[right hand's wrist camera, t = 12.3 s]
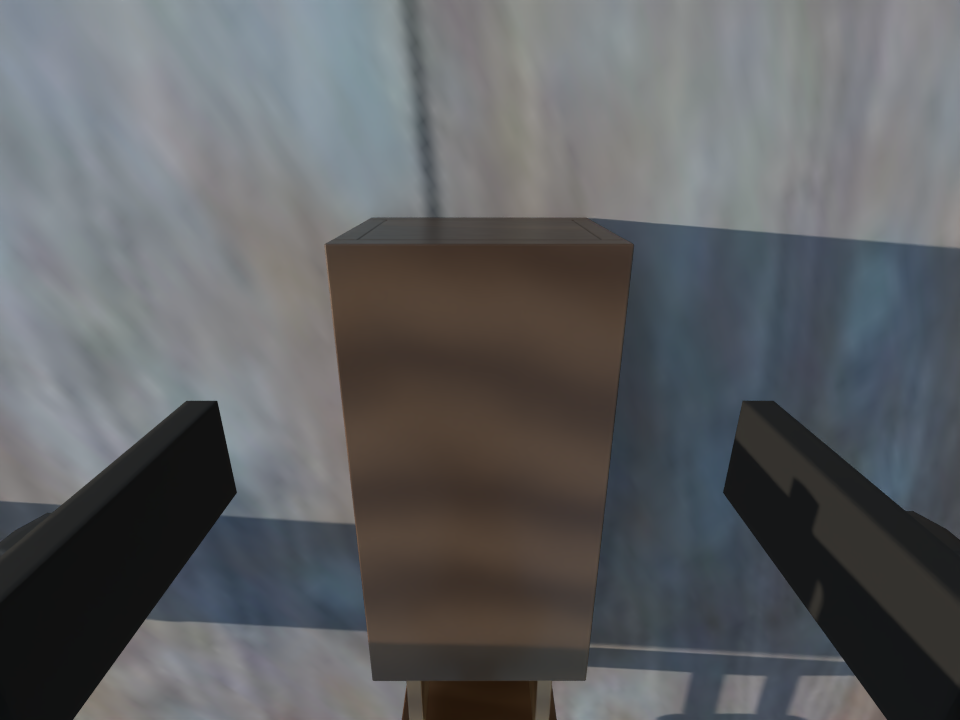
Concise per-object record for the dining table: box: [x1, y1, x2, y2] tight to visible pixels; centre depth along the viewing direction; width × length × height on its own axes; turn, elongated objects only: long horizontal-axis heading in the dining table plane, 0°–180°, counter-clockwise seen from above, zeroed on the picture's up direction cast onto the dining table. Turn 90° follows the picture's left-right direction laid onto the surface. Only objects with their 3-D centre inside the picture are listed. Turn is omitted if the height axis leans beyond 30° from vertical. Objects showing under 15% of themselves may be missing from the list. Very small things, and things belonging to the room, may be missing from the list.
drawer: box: [402, 681, 557, 720], centre depth 30 cm, size 26×10×6 cm, turn 0°
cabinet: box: [324, 218, 634, 681], centre depth 25 cm, size 22×11×8 cm, turn 0°
